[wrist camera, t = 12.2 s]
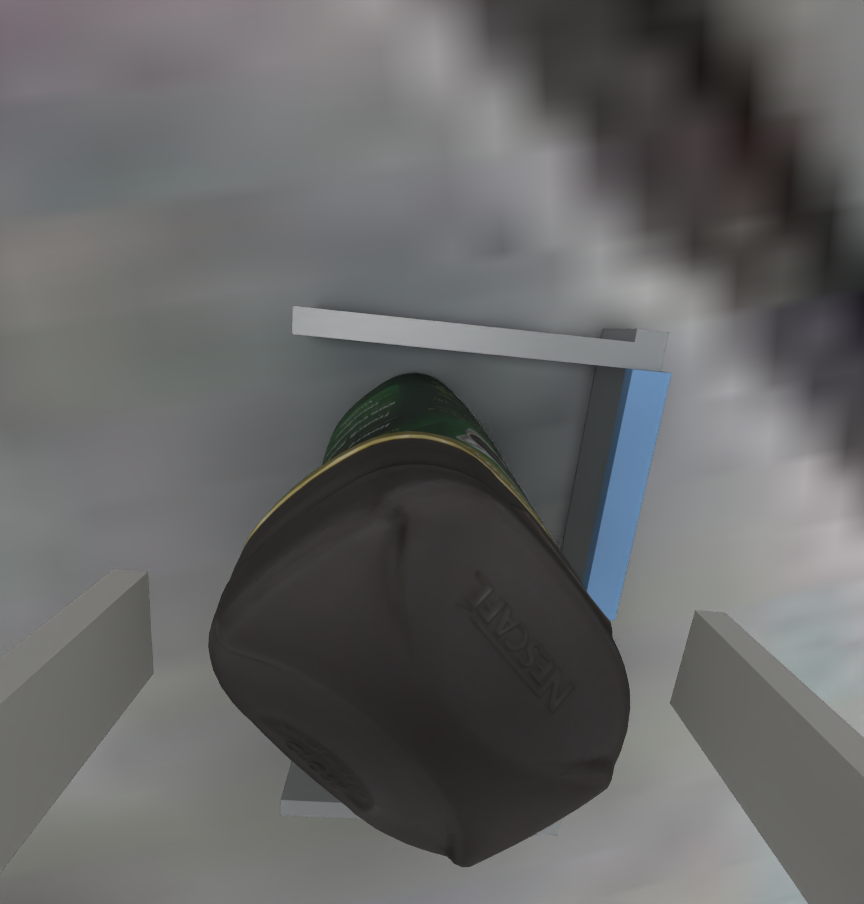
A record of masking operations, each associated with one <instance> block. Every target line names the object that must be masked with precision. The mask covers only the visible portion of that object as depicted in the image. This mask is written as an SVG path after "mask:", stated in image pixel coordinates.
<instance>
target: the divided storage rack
mask: <svg viewBox="0 0 864 904" xmlns="http://www.w3.org/2000/svg"><path fill="white" fill-rule="evenodd" d="M292 334H297V335H307V336H317V337H327V338H336V339H346V340H356V341H365V342H375V343H385V344H395V345H404V346H414V347H424V348H434V349H443V350H453V351H463V352H473V353H482V354H492V355H502V356H511V357H521V358H531V359H541V360H550V361H560V362H570V363H580V364H589V365H596V370H595V375H594V381H593V386H592V391H591V397H590V402H589V407H588V413H587V418H586V423H585V429H584V434H583V439H582V445H581V450H580V455H579V461H578V466H577V472H576V477H575V482H574V488H573V493H572V498H571V504H570V509H569V514H568V520H567V525H566V530H565V536H564V541H563V546H562V553H563V555H564V556H565V558H566V559H567V560H568V562H569V563H570V565H571V566H572V568H573V569H574V571H575V572H576V574H577V576H578V577H579V579H580V581H581V582H582V584H583V586H584V587H585V589H586V591H587V593H588V594H589V595H590V597H591V598H592V599H593V601H594V602H595V603H596V604H597V606H598V607H599V608H600V609H601V610H602V612H603V613H604V614H605V616H606V617H607V618H608V620H615V618H616V614H617V610H618V605H619V601H620V597H621V592H622V588H623V583H624V579H625V575H626V570H627V566H628V561H629V557H630V553H631V548H632V544H633V540H634V535H635V531H636V526H637V522H638V518H639V513H640V509H641V504H642V500H643V496H644V491H645V487H646V483H647V478H648V474H649V469H650V465H651V461H652V456H653V452H654V447H655V443H656V439H657V434H658V430H659V426H660V421H661V417H662V412H663V408H664V404H665V399H666V395H667V390H668V386H669V382H670V377H671V373H669V372H662V371H661V366H662V362H663V357H664V353H665V348H666V344H667V339H668V335H669V332H663V331H653V330H644V329H603V333H602V338H601V339H599V338H590V337H581V336H571V335H562V334H552V333H543V332H533V331H524V330H515V329H505V328H496V327H486V326H477V325H467V324H458V323H449V322H439V321H430V320H420V319H411V318H401V317H392V316H383V315H373V314H364V313H354V312H345V311H336V310H326V309H317V308H307V307H298V306H293V326H292ZM280 816H300V817H322V818H344V819H361V818H360V817H358V816H357V815H355V814H354V813H353V812H352V811H351V810H350V809H349V808H348V807H346V806H345V805H344V804H343V803H342V802H340V801H339V800H338V799H337V798H335V797H334V796H333V795H332V794H330V793H329V792H328V791H327V790H325V789H324V788H323V787H322V786H320V785H319V784H318V783H317V782H316V781H314V780H313V779H312V778H311V777H310V776H309V775H308V774H306V773H305V772H304V771H303V770H302V769H300V768H299V767H298V766H297V765H296V764H295V763H294V762H293V761H292V762H291V766H290V769H289V773H288V776H287V780H286V783H285V786H284V790H283V793H282V797H281V803H280ZM560 821H561V819H560V820H559V821H557V822H555V823H554V824H552V825H551V826H549V827H547V828H545V829H543V830H542V831H540V832H538V833H536V834H534V835H558V830H559V826H560Z"/></svg>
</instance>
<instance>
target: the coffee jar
mask: <svg viewBox="0 0 864 904" xmlns="http://www.w3.org/2000/svg"><path fill="white" fill-rule="evenodd" d="M208 647H209V654H210V659H211V663H212V667H213V671H214V673H215V675H216V677H217V679H218V681H219V683H220V685H221V687H222V689H223V690H224V691H225V693H226V694H227V695H228V697H229V698H230V699H231V701H232V702H233V703H234V704H235V705H236V707H237V708H238V709H239V710H240V711H241V712H242V713H243V714H244V715H245V716H246V717H247V718H248V719H250V720H251V721H252V722H253V723H254V724H255V725H256V726H257V728H258V729H259V730H260V731H261V732H262V733H263V734H264V735H265V736H266V737H267V738H268V739H270V740H271V741H272V742H273V743H274V744H275V745H276V746H277V747H278V748H279V749H280V750H281V751H282V752H283V753H284V754H285V755H286V756H287V757H288V758H289V759H290V760H292V761H293V762H294V763H295V764H296V765H297V766H298V767H299V768H300V769H302V770H303V771H304V772H305V773H306V774H308V775H309V776H310V777H311V778H312V779H313V780H314V781H316V782H317V783H318V784H319V785H320V786H322V787H323V788H324V789H325V790H327V791H328V792H329V793H330V794H332V795H333V796H334V797H335V798H337V799H338V800H339V801H340V802H342V803H343V804H344V805H345V806H346V807H348V808H349V809H350V810H351V811H352V812H353V813H354V814H355V815H357V816H358V817H360V818H361V819H363V820H364V821H366V822H367V823H368V824H370V825H371V826H373V827H374V828H376V829H378V830H380V831H381V832H383V833H385V834H387V835H389V836H391V837H393V838H396V839H398V840H400V841H402V842H404V843H406V844H409V845H412V846H414V847H417V848H420V849H423V850H426V851H429V852H433V853H437V854H440V855H444V856H447V857H448V858H449V859H450V860H451V861H452V862H453V863H454V864H456V865H458V866H461V867H470V866H473V865H475V864H477V863H479V862H481V861H483V860H485V859H487V858H489V857H491V856H493V855H495V854H497V853H499V852H501V851H503V850H505V849H507V848H509V847H511V846H513V845H515V844H517V843H519V842H521V841H523V840H525V839H527V838H529V837H531V836H533V835H534V834H536V833H538V832H540V831H542V830H543V829H545V828H547V827H549V826H551V825H552V824H554V823H555V822H557V821H559V820H560V819H562V818H563V817H565V816H566V815H568V814H570V813H571V812H573V811H575V810H576V809H578V808H580V807H581V806H583V805H584V804H585V803H587V802H588V801H590V800H591V799H593V798H594V797H596V796H597V795H599V794H600V793H601V792H603V791H604V790H605V789H607V787H608V786H609V784H610V782H611V780H612V775H613V770H614V765H615V763H616V761H617V758H618V756H619V754H620V752H621V749H622V745H623V742H624V739H625V736H626V733H627V728H628V721H629V712H630V689H629V683H628V678H627V674H626V670H625V666H624V663H623V661H622V658H621V655H620V653H619V650H618V648H617V646H616V644H615V642H614V640H613V638H612V627H611V622H610V621H609V620H608V618H607V617H606V616H605V614H604V613H603V612H602V610H601V609H600V608H599V607H598V606H597V604H596V603H595V602H594V601H593V599H592V598H591V597H590V595H589V594H588V593H587V591H586V589H585V587H584V586H583V584H582V582H581V581H580V579H579V577H578V576H577V574H576V572H575V571H574V569H573V568H572V566H571V565H570V563H569V562H568V560H567V559H566V558H565V556H564V555H563V553H562V552H561V550H560V549H559V548H558V546H557V545H556V543H555V542H554V540H553V538H552V537H551V535H550V534H549V532H548V531H547V529H546V528H545V526H544V525H543V523H542V522H541V520H540V518H539V517H538V515H537V514H536V512H535V511H534V509H533V508H532V506H531V504H530V503H529V501H528V500H527V498H526V496H525V494H524V493H523V491H522V490H521V488H520V486H519V485H518V483H517V482H516V480H515V479H514V477H513V476H512V474H511V473H510V471H509V469H508V468H507V466H506V464H505V463H504V461H503V459H502V458H501V456H500V454H499V453H498V451H497V449H496V448H495V446H494V445H493V443H492V442H491V440H490V439H489V437H488V436H487V434H486V433H485V431H484V430H483V429H482V427H481V426H480V424H479V423H478V422H477V420H476V419H475V418H474V416H473V415H472V414H471V413H470V411H469V410H468V409H467V408H466V407H465V406H464V404H463V403H462V402H461V401H460V400H459V399H458V398H457V397H456V396H455V395H454V394H453V393H452V392H451V391H450V390H449V389H448V388H447V387H446V386H445V385H444V384H443V383H441V382H440V381H438V380H437V379H434V378H432V377H430V376H427V375H423V374H417V373H411V374H404V375H400V376H397V377H394V378H392V379H390V380H388V381H386V382H384V383H383V384H381V385H380V386H378V387H377V388H375V389H374V390H372V391H371V392H370V393H368V394H367V395H366V396H364V397H363V398H362V399H361V400H360V401H358V402H357V403H356V404H355V405H354V406H353V407H352V408H351V409H350V410H349V411H348V412H347V413H346V414H345V415H344V417H343V418H342V419H341V421H340V422H339V423H338V425H337V427H336V428H335V430H334V432H333V434H332V437H331V439H330V442H329V445H328V447H327V451H326V454H325V457H324V461H323V464H322V466H321V467H319V468H318V469H316V470H315V471H313V472H312V473H311V474H309V475H308V476H307V477H306V478H304V479H303V480H302V481H301V482H299V483H298V484H297V485H296V486H295V487H294V488H293V489H291V490H290V491H289V492H288V493H287V494H286V495H285V496H284V497H283V498H282V499H281V500H280V501H279V502H278V503H277V504H276V505H275V506H274V507H273V508H272V509H271V510H270V511H269V512H268V513H267V514H266V516H265V517H264V518H263V519H262V520H261V521H260V522H259V523H258V525H257V526H256V527H255V528H254V530H253V531H252V533H251V534H250V536H249V538H248V539H247V541H246V544H245V546H244V549H243V551H242V553H241V556H240V558H239V560H238V562H237V564H236V566H235V568H234V571H233V573H232V576H231V578H230V581H229V582H228V584H227V585H226V587H225V589H224V591H223V593H222V595H221V598H220V601H219V604H218V608H217V610H216V613H215V615H214V618H213V621H212V625H211V629H210V633H209V644H208Z"/></svg>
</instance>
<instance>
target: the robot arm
mask: <svg viewBox="0 0 864 904" xmlns="http://www.w3.org/2000/svg"><path fill="white" fill-rule="evenodd" d="M152 675H153V656H152V638H151V620H150V601H149V583H148V572H144V571H130V570H116V569H113V570H112V571H111V572H109V573H108V574H107V575H106V576H104V577H103V578H102V579H100V580H99V581H98V582H97V583H95V584H94V585H93V586H92V587H90V588H89V589H88V590H86V591H85V592H84V593H83V594H81V595H80V596H79V597H78V598H76V599H75V600H74V601H72V602H71V603H70V604H69V605H67V606H66V607H65V608H64V609H62V610H61V611H60V612H58V613H57V614H56V615H55V616H53V617H52V618H51V619H50V620H48V621H47V622H46V623H44V624H43V625H42V626H41V627H39V628H38V629H37V630H36V631H34V632H33V633H32V634H30V635H29V636H28V637H27V638H25V639H24V640H23V641H22V642H20V643H19V644H18V645H16V646H15V647H14V648H13V649H11V650H10V651H9V652H8V653H6V654H5V655H4V656H2V657H1V658H0V873H1V872H2V870H3V869H4V868H5V866H6V865H7V864H8V862H9V861H10V860H11V858H12V857H13V856H14V855H15V853H16V852H17V851H18V849H19V848H20V847H21V845H22V844H23V843H24V842H25V840H26V839H27V838H28V836H29V835H30V834H31V832H32V831H33V830H34V828H35V827H36V826H37V825H38V823H39V822H40V821H41V819H42V818H43V817H44V815H45V814H46V813H47V812H48V810H49V809H50V808H51V806H52V805H53V804H54V802H55V801H56V800H57V798H58V797H59V796H60V795H61V793H62V792H63V791H64V789H65V788H66V787H67V785H68V784H69V783H70V782H71V780H72V779H73V778H74V776H75V775H76V774H77V772H78V771H79V770H80V768H81V767H82V766H83V765H84V763H85V762H86V761H87V759H88V758H89V757H90V755H91V754H92V753H93V751H94V750H95V749H96V748H97V746H98V745H99V744H100V742H101V741H102V740H103V738H104V737H105V736H106V735H107V733H108V732H109V731H110V729H111V728H112V727H113V725H114V724H115V723H116V721H117V720H118V719H119V718H120V716H121V715H122V714H123V712H124V711H125V710H126V708H127V707H128V706H129V705H130V703H131V702H132V701H133V699H134V698H135V697H136V695H137V694H138V693H139V691H140V690H141V689H142V688H143V686H144V685H145V684H146V682H147V681H148V680H149V678H150V677H151V676H152ZM670 704H671V705H672V707H673V708H674V710H675V711H676V713H677V714H678V715H679V717H680V718H681V720H682V721H683V723H684V724H685V726H686V727H687V729H688V730H689V731H690V733H691V734H692V736H693V737H694V739H695V740H696V742H697V743H698V744H699V746H700V747H701V749H702V750H703V752H704V753H705V755H706V756H707V757H708V759H709V760H710V762H711V763H712V765H713V766H714V768H715V769H716V771H717V772H718V773H719V775H720V776H721V778H722V779H723V781H724V782H725V784H726V785H727V786H728V788H729V789H730V791H731V792H732V794H733V795H734V797H735V798H736V800H737V801H738V802H739V804H740V805H741V807H742V808H743V810H744V811H745V813H746V814H747V815H748V817H749V818H750V820H751V821H752V823H753V824H754V826H755V827H756V828H757V830H758V831H759V833H760V834H761V836H762V837H763V839H764V840H765V842H766V843H767V844H768V846H769V847H770V849H771V850H772V852H773V853H774V855H775V856H776V857H777V859H778V860H779V862H780V863H781V865H782V866H783V868H784V869H785V871H786V872H787V873H788V875H789V876H790V878H791V879H792V881H793V882H794V884H795V885H796V886H797V888H798V889H799V891H800V892H801V894H802V895H803V897H804V898H805V899H806V901H807V902H808V904H864V737H862V736H861V735H860V734H859V733H858V732H857V731H856V730H855V729H854V728H852V727H851V726H850V725H849V724H848V723H847V722H846V721H845V720H844V719H842V718H841V717H840V716H839V715H838V714H837V713H836V712H835V711H834V710H832V709H831V708H830V707H829V706H828V705H827V704H826V703H825V702H824V701H822V700H821V699H820V698H819V697H818V696H817V695H816V694H815V693H814V692H813V691H811V690H810V689H809V688H808V687H807V686H806V685H805V684H804V683H803V682H801V681H800V680H799V679H798V678H797V677H796V676H795V675H794V674H793V673H791V672H790V671H789V670H788V669H787V668H786V667H785V666H784V665H783V664H781V663H780V662H779V661H778V660H777V659H776V658H775V657H774V656H773V655H771V654H770V653H769V652H768V651H767V650H766V649H765V648H764V647H763V646H761V645H760V644H759V643H758V642H757V641H756V640H755V639H754V638H753V637H751V636H750V635H749V634H748V633H747V632H746V631H745V630H744V629H743V628H741V627H740V626H739V625H738V624H737V623H736V622H735V621H734V620H733V619H731V618H730V617H729V616H728V615H727V614H726V613H725V612H711V611H697V610H695V613H694V617H693V620H692V624H691V628H690V631H689V635H688V639H687V643H686V646H685V650H684V654H683V657H682V661H681V665H680V668H679V672H678V676H677V679H676V683H675V687H674V690H673V694H672V698H671V701H670Z"/></svg>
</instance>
